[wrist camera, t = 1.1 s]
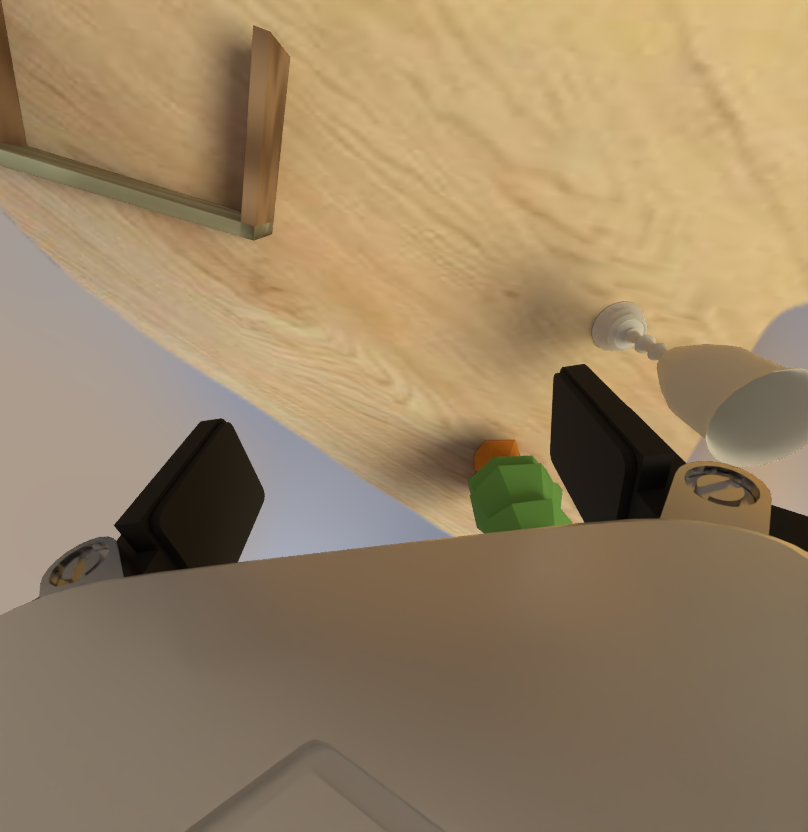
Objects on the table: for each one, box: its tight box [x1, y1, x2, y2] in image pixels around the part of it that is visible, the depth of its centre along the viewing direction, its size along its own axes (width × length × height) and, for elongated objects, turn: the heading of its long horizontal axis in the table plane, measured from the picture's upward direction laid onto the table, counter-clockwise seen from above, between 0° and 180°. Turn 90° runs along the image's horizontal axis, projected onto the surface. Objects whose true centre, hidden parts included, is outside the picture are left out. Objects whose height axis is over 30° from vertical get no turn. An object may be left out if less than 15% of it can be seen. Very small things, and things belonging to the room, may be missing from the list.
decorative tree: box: [468, 440, 572, 534], centre depth 33 cm, size 10×9×30 cm
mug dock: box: [0, 0, 290, 241], centre depth 26 cm, size 12×20×5 cm, turn 74°
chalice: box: [592, 302, 808, 467], centre depth 30 cm, size 7×7×18 cm
